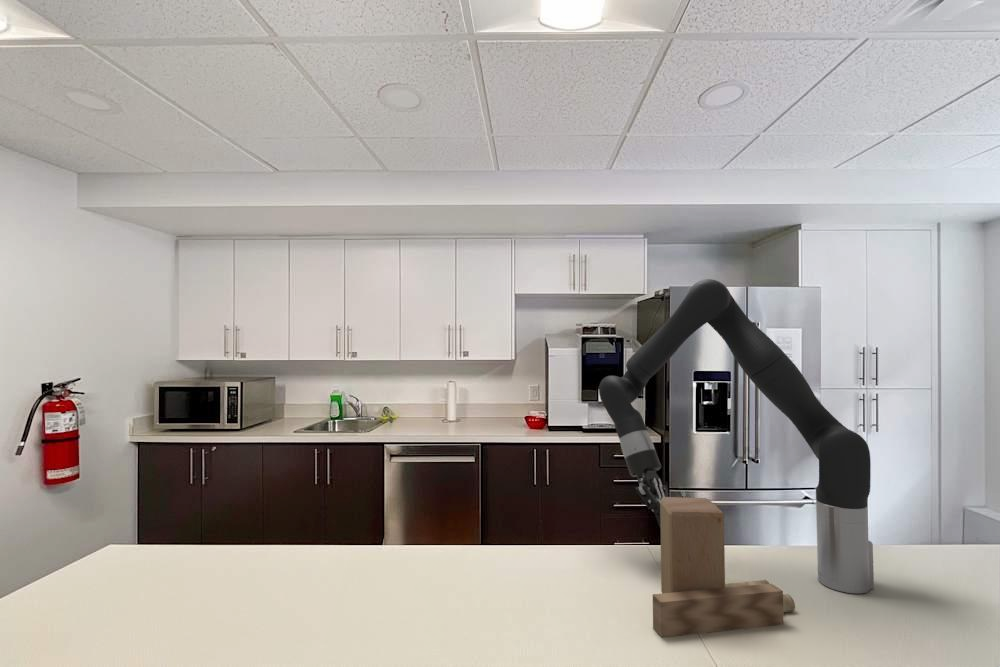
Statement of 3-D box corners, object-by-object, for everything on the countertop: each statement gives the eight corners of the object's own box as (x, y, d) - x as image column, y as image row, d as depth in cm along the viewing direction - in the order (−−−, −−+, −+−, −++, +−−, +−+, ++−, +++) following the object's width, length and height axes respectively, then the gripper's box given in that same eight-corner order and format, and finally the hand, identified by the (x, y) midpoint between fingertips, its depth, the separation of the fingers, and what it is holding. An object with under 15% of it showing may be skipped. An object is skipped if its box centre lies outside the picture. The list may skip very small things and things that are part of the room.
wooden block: (727, 621, 95) (725, 511, 96) (671, 618, 96) (670, 510, 97) (710, 596, 105) (709, 496, 106) (660, 593, 106) (659, 495, 107)
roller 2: (784, 607, 101) (783, 591, 101) (795, 614, 98) (794, 597, 98) (738, 612, 99) (736, 596, 99) (748, 619, 96) (746, 602, 96)
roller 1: (771, 599, 104) (761, 590, 107) (772, 585, 104) (762, 576, 107) (726, 603, 103) (717, 594, 106) (727, 589, 102) (718, 580, 105)
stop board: (772, 616, 97) (771, 583, 97) (783, 624, 94) (782, 590, 94) (653, 628, 93) (652, 594, 93) (661, 637, 90) (660, 602, 90)
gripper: (641, 446, 118) (669, 524, 110) (664, 449, 127) (691, 522, 119) (613, 457, 121) (638, 533, 113) (638, 459, 131) (662, 530, 123)
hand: (665, 527), depth 116 cm, fingers closed
